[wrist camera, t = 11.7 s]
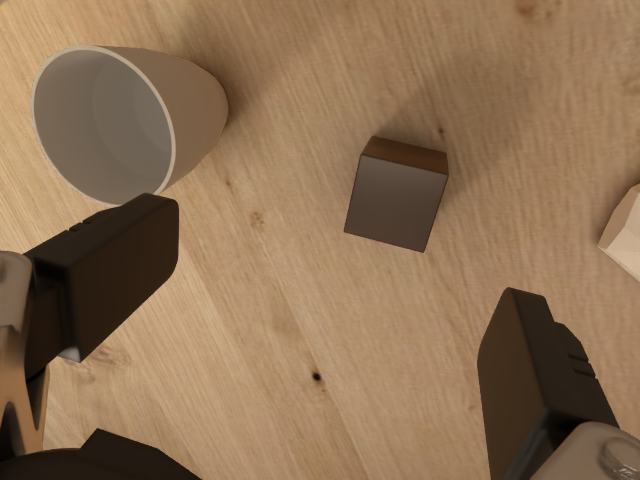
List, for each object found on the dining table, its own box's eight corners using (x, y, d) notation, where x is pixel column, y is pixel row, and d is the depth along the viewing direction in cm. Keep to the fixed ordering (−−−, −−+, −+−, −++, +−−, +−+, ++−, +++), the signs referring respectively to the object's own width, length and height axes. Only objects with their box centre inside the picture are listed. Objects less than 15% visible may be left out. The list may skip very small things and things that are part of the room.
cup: (149, 25, 30) (27, 21, 21) (261, 64, 29) (185, 77, 20) (138, 140, 33) (32, 178, 24) (237, 176, 33) (165, 229, 24)
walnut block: (371, 135, 29) (360, 153, 25) (447, 153, 29) (449, 174, 24) (355, 204, 32) (343, 232, 27) (425, 222, 31) (423, 253, 26)
